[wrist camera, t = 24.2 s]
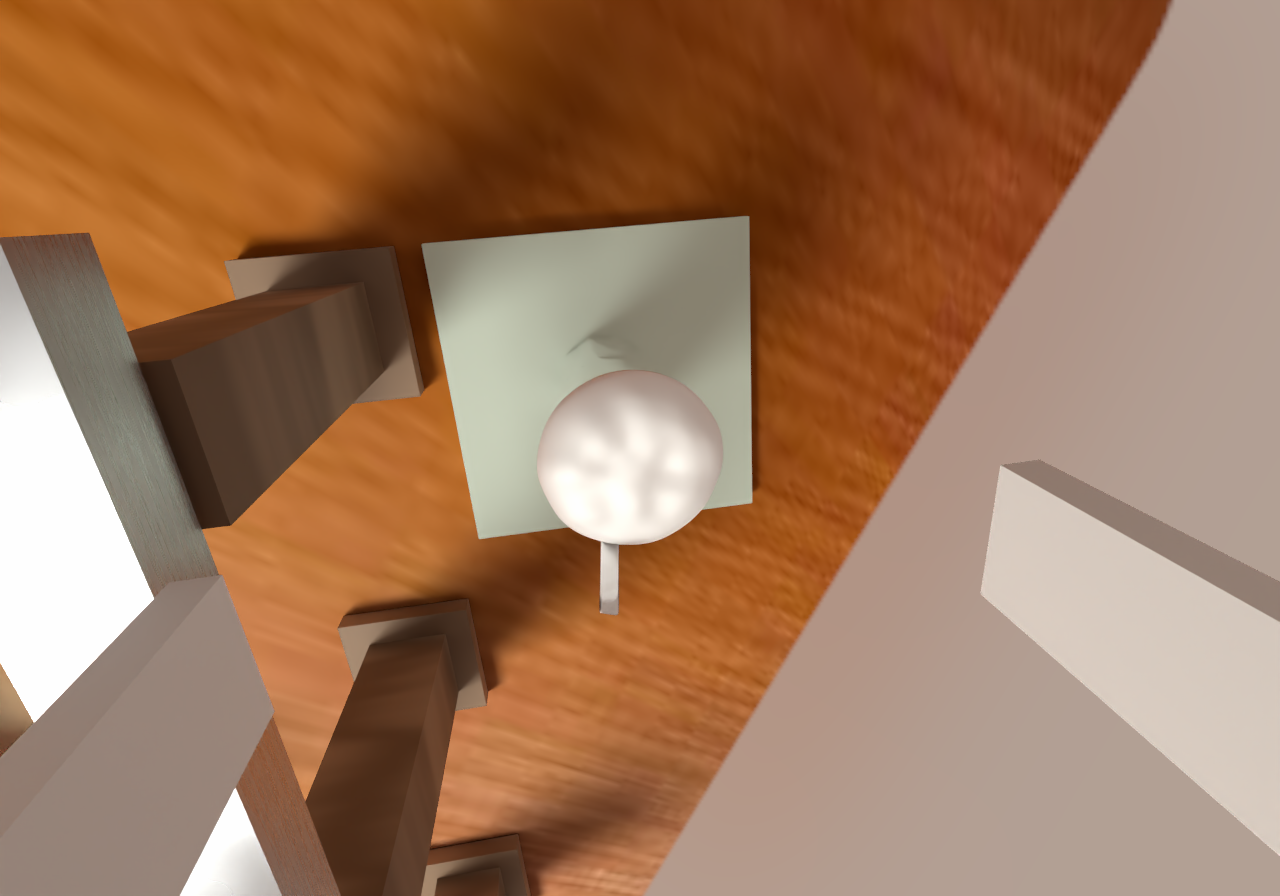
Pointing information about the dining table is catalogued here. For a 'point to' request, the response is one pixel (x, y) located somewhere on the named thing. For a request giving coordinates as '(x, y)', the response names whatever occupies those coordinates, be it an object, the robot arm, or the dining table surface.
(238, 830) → the bar
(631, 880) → the dining table surface
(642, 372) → the milkshake
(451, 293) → the mat
